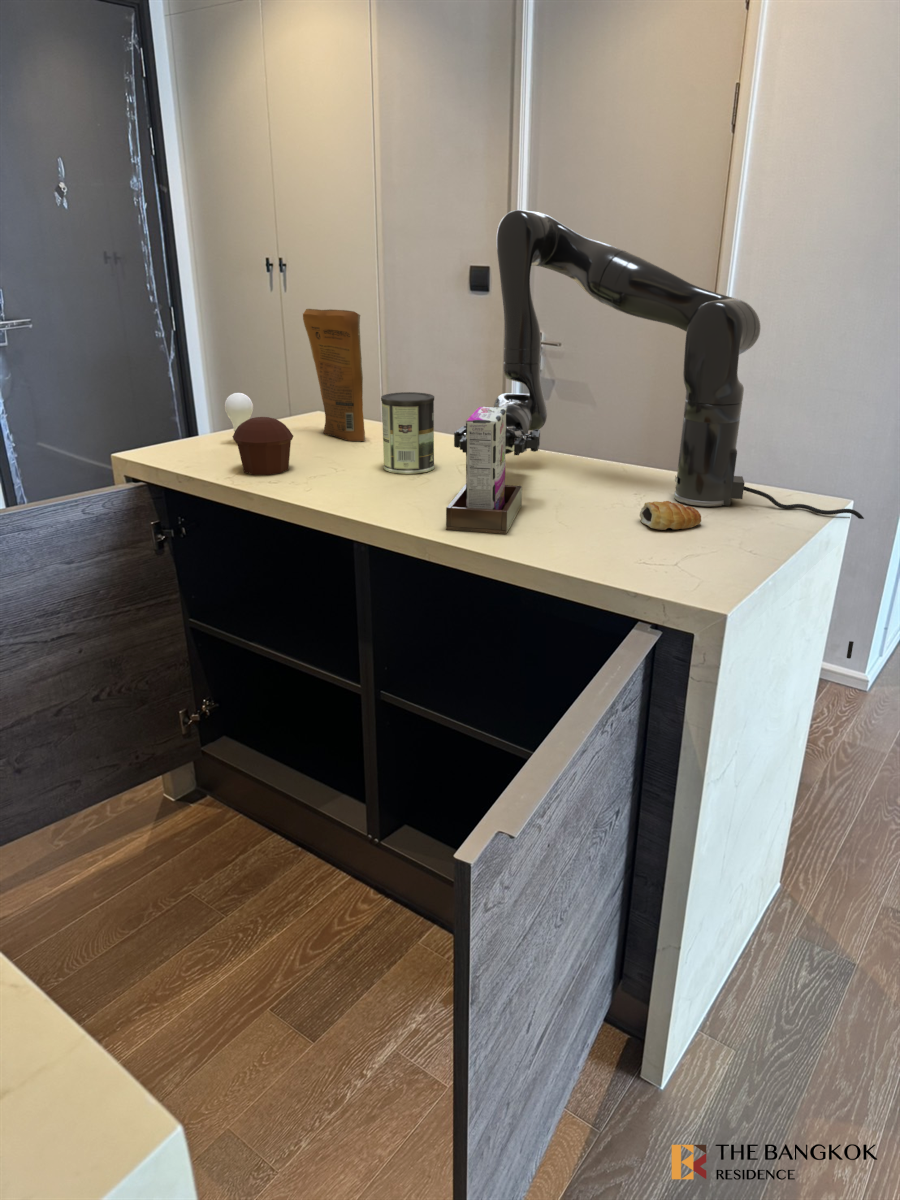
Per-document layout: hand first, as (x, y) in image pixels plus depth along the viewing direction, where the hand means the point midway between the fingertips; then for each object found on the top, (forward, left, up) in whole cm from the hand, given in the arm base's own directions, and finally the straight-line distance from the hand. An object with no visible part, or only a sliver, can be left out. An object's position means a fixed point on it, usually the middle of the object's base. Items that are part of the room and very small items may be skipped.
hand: (490, 447), depth 140 cm
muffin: (+48, -18, -11) cm, 52 cm away
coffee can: (+21, -26, -11) cm, 35 cm away
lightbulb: (+63, -39, -11) cm, 75 cm away
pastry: (-29, 0, -11) cm, 31 cm away
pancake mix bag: (+44, -51, -11) cm, 68 cm away
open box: (0, +3, -11) cm, 11 cm away
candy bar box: (0, +3, -10) cm, 11 cm away
